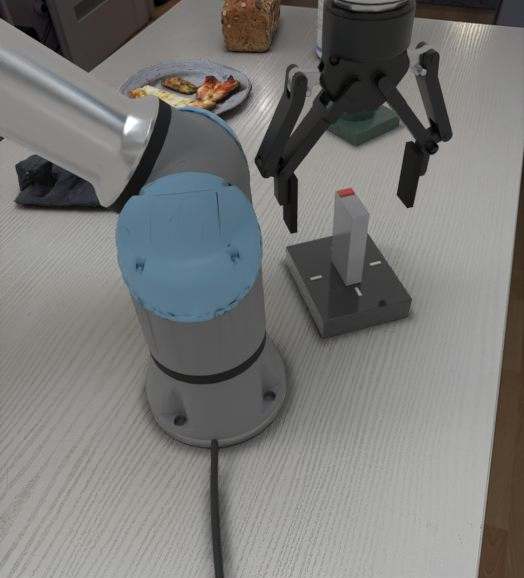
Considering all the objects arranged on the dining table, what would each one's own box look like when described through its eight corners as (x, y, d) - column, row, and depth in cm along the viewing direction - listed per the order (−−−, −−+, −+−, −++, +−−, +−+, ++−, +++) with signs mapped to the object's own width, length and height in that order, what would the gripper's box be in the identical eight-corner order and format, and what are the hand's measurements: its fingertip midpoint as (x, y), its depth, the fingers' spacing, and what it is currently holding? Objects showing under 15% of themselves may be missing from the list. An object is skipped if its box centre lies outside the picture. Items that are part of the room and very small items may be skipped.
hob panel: (408, 316, 66) (412, 298, 63) (322, 338, 64) (323, 320, 62) (362, 245, 74) (364, 227, 72) (286, 263, 73) (285, 245, 70)
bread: (270, 53, 115) (268, 0, 107) (221, 52, 117) (215, 0, 109) (283, 19, 127) (282, -31, 119) (238, 19, 128) (234, -31, 120)
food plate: (275, 93, 104) (275, 74, 101) (189, 146, 93) (186, 126, 90) (184, 61, 115) (181, 43, 112) (98, 105, 104) (92, 87, 101)
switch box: (398, 126, 94) (402, 103, 91) (355, 146, 90) (357, 123, 87) (351, 101, 100) (353, 79, 97) (309, 119, 97) (310, 97, 94)
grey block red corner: (361, 282, 65) (370, 211, 58) (345, 286, 65) (352, 215, 57) (345, 256, 69) (351, 186, 61) (330, 260, 68) (335, 189, 60)
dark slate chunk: (137, 223, 80) (130, 195, 76) (7, 207, 84) (-7, 180, 81) (173, 166, 89) (168, 139, 86) (53, 154, 94) (43, 128, 90)
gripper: (232, 36, 40) (249, 258, 56) (533, -12, 43) (467, 209, 60) (209, 1, 44) (231, 216, 61) (483, -39, 48) (434, 173, 64)
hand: (348, 213), depth 60 cm, fingers open, 13 cm apart
